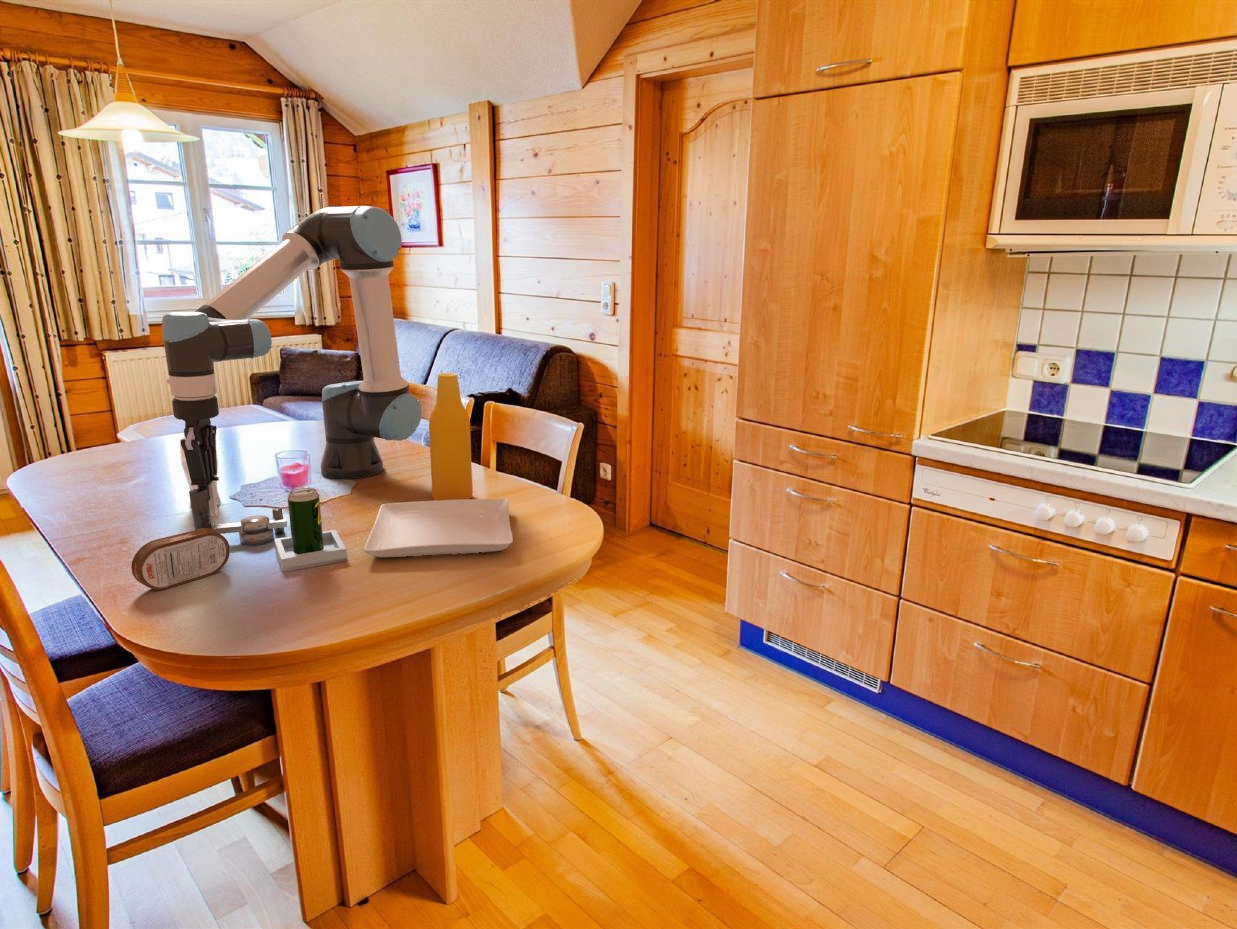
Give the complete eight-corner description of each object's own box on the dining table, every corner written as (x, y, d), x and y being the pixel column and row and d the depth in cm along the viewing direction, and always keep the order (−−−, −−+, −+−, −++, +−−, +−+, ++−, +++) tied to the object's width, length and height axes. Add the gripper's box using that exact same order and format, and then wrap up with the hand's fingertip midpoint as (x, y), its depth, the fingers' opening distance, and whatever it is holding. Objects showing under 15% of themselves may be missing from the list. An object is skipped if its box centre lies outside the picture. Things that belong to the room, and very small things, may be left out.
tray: (336, 541, 147) (335, 529, 147) (347, 560, 138) (346, 548, 137) (275, 550, 142) (274, 538, 141) (282, 571, 133) (281, 559, 132)
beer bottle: (431, 505, 169) (425, 378, 161) (432, 493, 177) (426, 371, 170) (473, 504, 171) (469, 377, 163) (472, 491, 179) (468, 371, 171)
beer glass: (208, 510, 163) (199, 443, 158) (180, 508, 164) (170, 441, 160) (230, 501, 169) (222, 436, 165) (203, 498, 170) (194, 434, 166)
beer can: (295, 560, 136) (289, 497, 133) (291, 550, 141) (284, 489, 137) (326, 555, 139) (321, 493, 136) (321, 545, 143) (316, 485, 140)
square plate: (508, 512, 167) (508, 496, 166) (513, 560, 141) (513, 541, 140) (382, 517, 162) (381, 500, 161) (363, 568, 136) (361, 548, 135)
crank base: (283, 530, 152) (281, 507, 151) (287, 540, 147) (285, 516, 146) (177, 546, 143) (173, 521, 142) (177, 557, 138) (173, 532, 137)
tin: (226, 565, 135) (220, 521, 133) (235, 569, 133) (229, 525, 131) (134, 593, 124) (126, 545, 121) (142, 598, 122) (134, 550, 120)
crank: (287, 521, 151) (283, 480, 148) (286, 529, 146) (282, 487, 144) (197, 529, 145) (191, 487, 143) (193, 539, 140) (186, 495, 138)
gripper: (184, 390, 146) (199, 504, 152) (159, 403, 134) (176, 527, 140) (226, 390, 147) (239, 503, 154) (205, 403, 135) (219, 525, 142)
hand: (209, 514), depth 147 cm, fingers closed
